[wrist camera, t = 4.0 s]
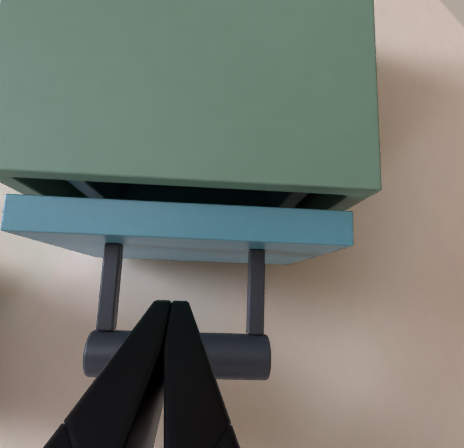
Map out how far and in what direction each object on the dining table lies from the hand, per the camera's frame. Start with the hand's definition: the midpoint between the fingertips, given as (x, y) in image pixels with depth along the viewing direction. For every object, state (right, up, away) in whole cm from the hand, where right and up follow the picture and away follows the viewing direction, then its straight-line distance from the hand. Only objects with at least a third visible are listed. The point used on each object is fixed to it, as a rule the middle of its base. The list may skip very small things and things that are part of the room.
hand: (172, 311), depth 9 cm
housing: (-1, +9, +15) cm, 17 cm away
